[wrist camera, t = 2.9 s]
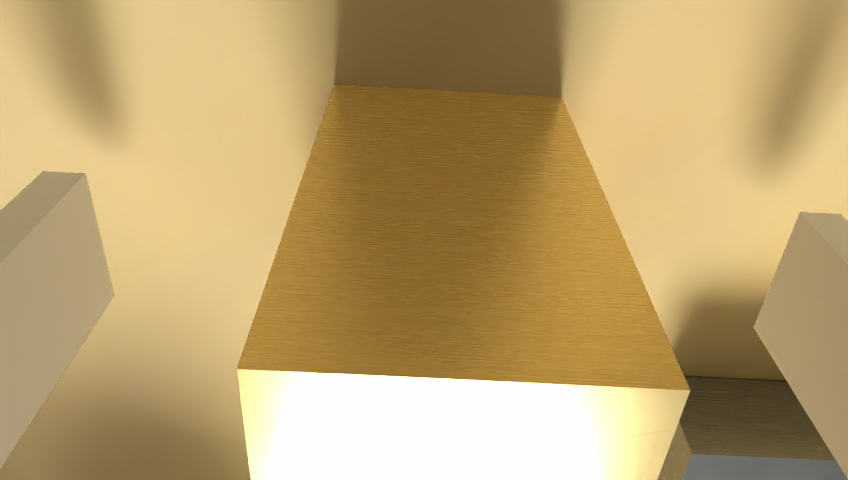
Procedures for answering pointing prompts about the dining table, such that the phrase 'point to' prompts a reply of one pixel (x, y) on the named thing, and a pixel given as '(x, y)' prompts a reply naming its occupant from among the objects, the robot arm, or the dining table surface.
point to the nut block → (454, 305)
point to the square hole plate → (746, 435)
